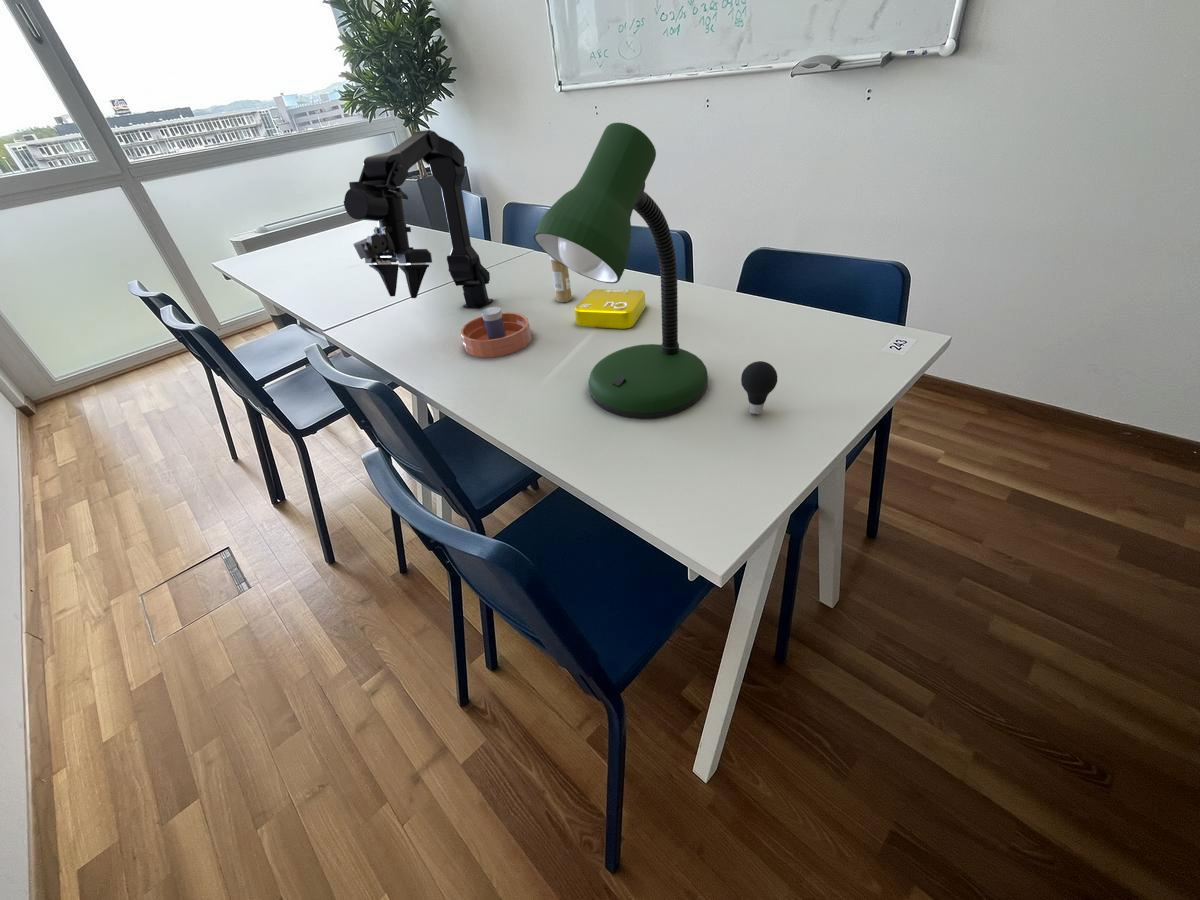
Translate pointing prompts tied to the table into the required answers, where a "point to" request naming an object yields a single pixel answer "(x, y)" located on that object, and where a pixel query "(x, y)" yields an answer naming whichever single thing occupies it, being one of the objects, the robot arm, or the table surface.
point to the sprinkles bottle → (561, 281)
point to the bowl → (513, 342)
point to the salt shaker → (493, 323)
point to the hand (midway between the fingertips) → (403, 297)
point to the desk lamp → (600, 252)
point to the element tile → (610, 308)
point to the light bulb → (758, 384)
